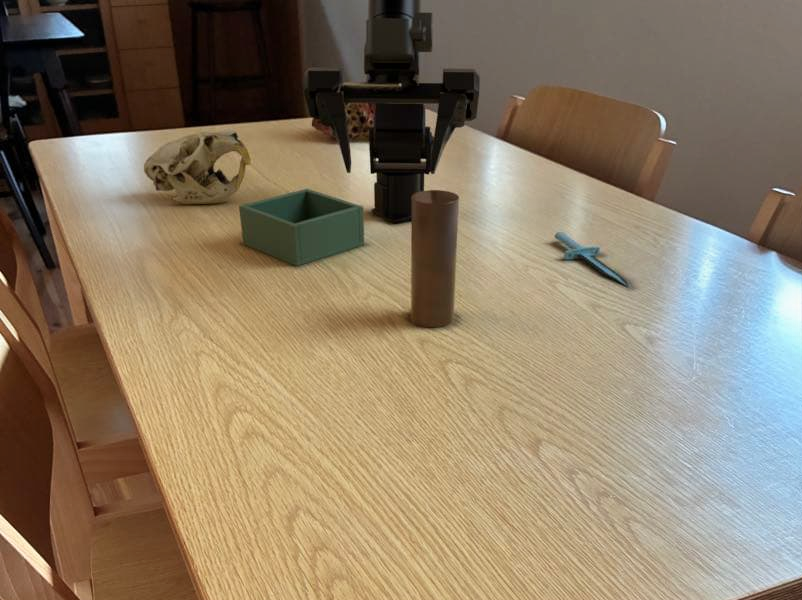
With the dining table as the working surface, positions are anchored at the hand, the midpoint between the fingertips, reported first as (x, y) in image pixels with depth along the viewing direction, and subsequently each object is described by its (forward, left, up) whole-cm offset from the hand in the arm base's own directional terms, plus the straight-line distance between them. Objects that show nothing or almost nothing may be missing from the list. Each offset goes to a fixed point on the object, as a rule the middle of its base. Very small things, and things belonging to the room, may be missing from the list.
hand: (390, 171), depth 88 cm
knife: (-27, +6, -14) cm, 30 cm away
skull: (+5, -46, -14) cm, 49 cm away
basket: (+1, -20, -13) cm, 24 cm away
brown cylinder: (0, +9, -13) cm, 16 cm away
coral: (-37, -70, -14) cm, 80 cm away
